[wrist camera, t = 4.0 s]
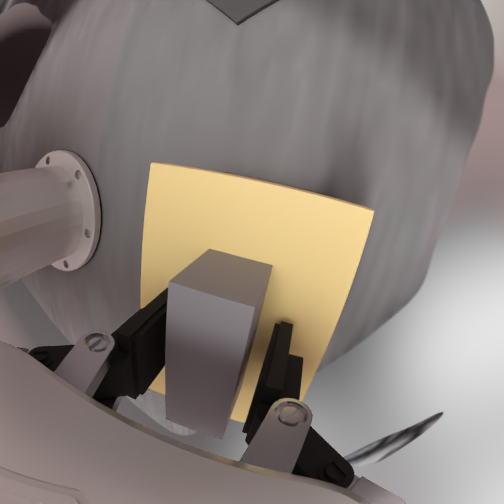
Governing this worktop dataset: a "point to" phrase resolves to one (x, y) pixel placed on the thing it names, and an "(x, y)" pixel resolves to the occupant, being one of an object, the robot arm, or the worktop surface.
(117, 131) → the worktop surface
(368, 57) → the worktop surface
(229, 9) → the mat
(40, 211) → the robot arm
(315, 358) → the lid
